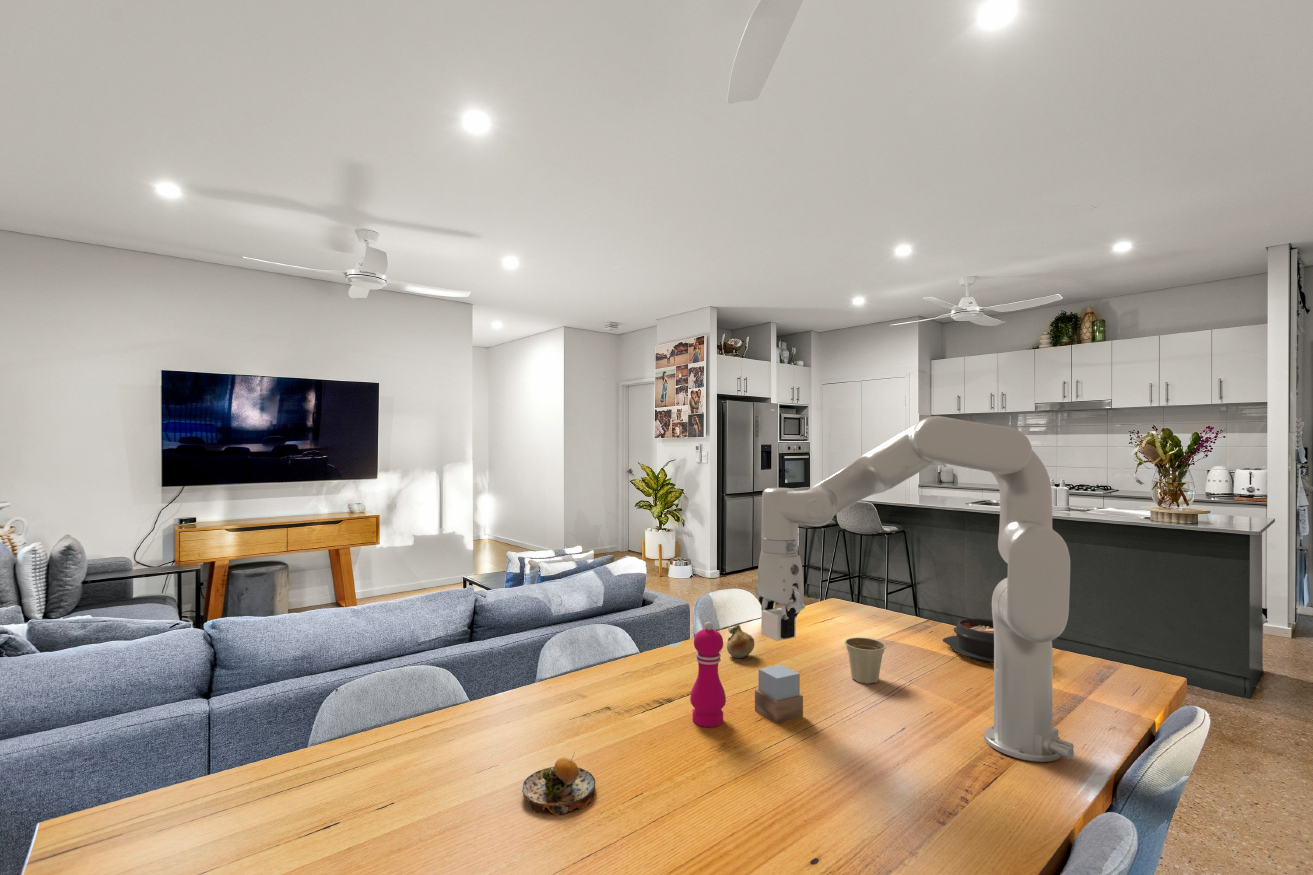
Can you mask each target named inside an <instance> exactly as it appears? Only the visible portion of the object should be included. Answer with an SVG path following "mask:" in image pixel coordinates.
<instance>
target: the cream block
mask: <svg viewBox="0 0 1313 875" xmlns="http://www.w3.org/2000/svg"><path fill="white" fill-rule="evenodd" d="M781 619H783V614H782V608H781V607H779V608H775V609H770V610H764V611H762V610H761V633H760V634H761V635H762V636H764V637H766V638H769V639H771V640H773V641H774V642H781V641H784V640H785V641H786V640H790V639H791V640H792V639H796V636H797V633H796V630H797V626H796V624H797V618H795V634H794V637H791V638H786V639H783V638H781Z"/></svg>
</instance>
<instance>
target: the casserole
mask: <svg viewBox="0 0 1313 875" xmlns="http://www.w3.org/2000/svg"><path fill="white" fill-rule="evenodd" d="M953 632H954V633H955V634H956V635H949V636H947V637H944V638H942V642H943V643H945V644H946V645H948V646H949V647H950V648H951V649H952V650H953V651H955V652H956V653H958V654H960V655H963V656H966V657H968V658H969V659H972V660H973V661H974V660H975V661H978V662H982V663H985V664H986V663H987V664H993V665H994V627H993V619H986V618H964V619H960V620H958V622H957V624H956V626H955V627H954V628H953Z"/></svg>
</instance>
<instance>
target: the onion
mask: <svg viewBox="0 0 1313 875" xmlns="http://www.w3.org/2000/svg"><path fill="white" fill-rule="evenodd" d="M727 630H728V633H729V634H731V636H730V637H728V638H727V643H726V649H727V653H728V654H730V655H731V657H733V658H736V659H744V658H747V657H748V656H749V655H750V654H751V653H752V652H753V650H754V648H755V639H754V637H753V636H752V635H751V634H748V632H745V631H744V630H742V628H741V625H739V624H737V625H734V626H733V627H731V626H729V627H728V628H727Z"/></svg>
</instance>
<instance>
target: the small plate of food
mask: <svg viewBox="0 0 1313 875" xmlns="http://www.w3.org/2000/svg"><path fill="white" fill-rule="evenodd" d="M575 754H576V753H575V752H574V753H573V755H572V757H571V758H570V757H565V756H562V757H559V758H558V759H556V761H555V762H554V765H553V766H552V767H551V766H550V767H547V768H542V769H539V770H537V771H535V772H533V773H532V774H531V775H529V776H528V777H527V778H525V780H524V781H523V784H522V791H521V793H522V797H523V798H524V799H525V800H527V801H528V802H529V803H530V809H531V810H530V811H531V812H532V811H534V813H536V814H537V813H538V814H541V815H543V814H544V810H545V808H547V809H548V811H549V812H550V813H551V814H553V815H554V816H560V815H561V814H562V815H566V813H567V812H569V811H570V812H572V811H573V810H574V809H577V810H579V811H580V810H582V809H584V808H586V807H587V805H588V803H590V804H591V803H592V802H593V801H594V799H595V798H596V794H597V790H596V783H597V782H596V779H595V777H594V776H593V774H592V773H591V772H590V771H588V770H586V769H584V768H581V767H579V766H578V765H577V763H576V762H575V761H574V760H573V758H574V756H575Z"/></svg>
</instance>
